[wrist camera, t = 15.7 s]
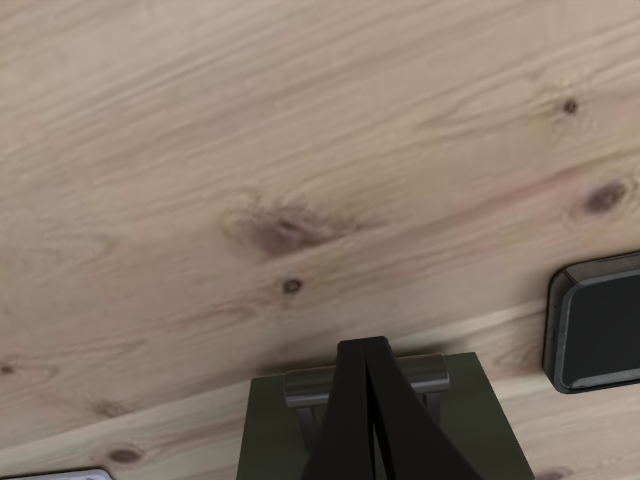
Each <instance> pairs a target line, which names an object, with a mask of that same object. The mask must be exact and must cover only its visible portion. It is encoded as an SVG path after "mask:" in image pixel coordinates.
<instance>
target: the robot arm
mask: <svg viewBox="0 0 640 480" xmlns="http://www.w3.org/2000/svg"><path fill="white" fill-rule="evenodd" d="M373 424H374V428H375V432H376V436H377V440H378V445H379V449H380V453H381V457H382V461H383V465H384V469H385V474H386V478H387V480H485V479H484V478H483V477H482V476H481V475H480V474H479V473H478V472H477V470H476V469H475V468H474V467H473V466H472V465H471V464H470V462H469V461H468V460H467V459H466V458H465V457H464V456H463V454H462V453H461V452H460V451H459V450H458V448H457V447H456V446H455V445H454V444H453V442H452V441H451V440H450V439H449V437H448V436H447V435H446V434H445V432H444V431H443V430H442V428H441V427H440V426H439V424H438V423H437V422H436V420H435V419H434V418H433V416H432V415H431V414H430V412H429V411H428V409H427V408H426V407H425V405H424V404H423V402H422V401H421V399H420V398H419V396H418V395H417V393H416V392H415V390H414V389H413V387H412V385H411V384H410V382H409V381H408V379H407V377H406V376H405V374H404V372H403V371H402V369H401V367H400V365H399V364H398V362H397V360H396V358H395V356H394V354H393V352H392V350H391V347H390V345H389V343H388V340H387V338H385V337H384V336H379V337H370V338H362V339H354V340H346V341H341V342H340V343H339V344H338V347H337V360H336V367H335V372H334V377H333V382H332V386H331V390H330V394H329V398H328V402H327V406H326V409H325V412H324V415H323V419H322V422H321V425H320V428H319V431H318V434H317V437H316V440H315V442H314V445H313V448H312V450H311V453H310V456H309V458H308V461H307V463H306V466H305V468H304V470H303V473H302V475H301V477H300V480H376V465H375V448H374V431H373ZM5 480H112V479H111V478H110V476H109V475H108V474H107V472H106V471H104V470H101V469H95V470H86V471H77V472H68V473H59V474H50V475H41V476H32V477H23V478H14V479H5Z"/></svg>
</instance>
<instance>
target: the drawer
mask: <svg viewBox="0 0 640 480" xmlns="http://www.w3.org/2000/svg"><path fill="white" fill-rule="evenodd" d="M396 360H397V362H398V364H399V365H400V367H401V369H402V371H403V372H404V374H405V376H406V377H407V379H408V381H409V382H410V384H411V385H412V387H413V389H414V390H415V392H416V393H417V395H418V396H419V398H420V399H421V401H422V402H423V404H424V405H425V407H426V408H427V409H428V411H429V412H430V414H431V415H432V416H433V418H434V419H435V420H436V422H437V423H438V424H439V426H440V427H441V428H442V430H443V431H444V432H445V434H446V435H447V436H448V437H449V439H450V440H451V441H452V442H453V444H454V445H455V446H456V447H457V448H458V450H459V451H460V452H461V453H462V454H463V456H464V457H465V458H466V459H467V460H468V461H469V462H470V464H471V465H472V466H473V467H474V468H475V469H476V470H477V472H478V473H479V474H480V475H481V476H482V477H483V478H484V479H485V480H536V479H535V477H534V474H533V472H532V470H531V468H530V466H529V464H528V462H527V460H526V458H525V456H524V454H523V451H522V449H521V447H520V445H519V443H518V441H517V439H516V437H515V435H514V433H513V431H512V428H511V426H510V424H509V422H508V420H507V418H506V416H505V414H504V412H503V410H502V408H501V405H500V403H499V401H498V399H497V397H496V395H495V393H494V391H493V389H492V387H491V385H490V383H489V380H488V378H487V376H486V374H485V372H484V370H483V368H482V366H481V364H480V362H479V360H478V357H477V355H476V353H475V352H469V353H461V354H452V355H444V356H443V355H442V354H441V353H432V354H424V355H415V356H407V357H399V358H396ZM335 367H336V365H332V366H324V367H316V368H307V369H299V370H291V371H286V372H285V374H284V375H277V376H269V377H260V378H253V379H252V380H251V386H250V393H249V399H248V406H247V412H246V419H245V425H244V432H243V439H242V445H241V452H240V458H239V465H238V471H237V478H236V480H300V477H301V475H302V473H303V470H304V468H305V466H306V463H307V461H308V458H309V456H310V453H311V450H312V448H313V445H314V442H315V440H316V437H317V434H318V431H319V428H320V425H321V422H322V419H323V415H324V412H325V409H326V406H327V402H328V398H329V394H330V390H331V386H332V382H333V377H334V372H335ZM373 431H374V448H375V465H376V480H387V478H386V474H385V469H384V465H383V461H382V457H381V453H380V449H379V445H378V440H377V436H376V432H375V428H374V424H373Z"/></svg>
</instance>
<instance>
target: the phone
mask: <svg viewBox="0 0 640 480" xmlns="http://www.w3.org/2000/svg"><path fill="white" fill-rule="evenodd" d="M543 370H544V372H545V374H546V376H547V377H548V379H549V380H550V382H551V383H552V385H553V386H554V388H555V389H556V390H557V391H558V392H560V393H563V394H576V393H583V392H589V391H595V390H601V389H607V388H613V387H620V386H626V385H632V384H638V383H640V252H638V253H633V254H628V255H623V256H617V257H612V258H607V259H602V260H596V261H591V262H586V263H581V264H576V265H573V266H570V267H567V268H566V269H564V270H562V271H561V272H560V273H558V274H557V275H556V276H555V277H554V279H553V280H552V282H551V284H550V288H549V298H548V311H547V323H546V335H545V348H544V360H543Z"/></svg>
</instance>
